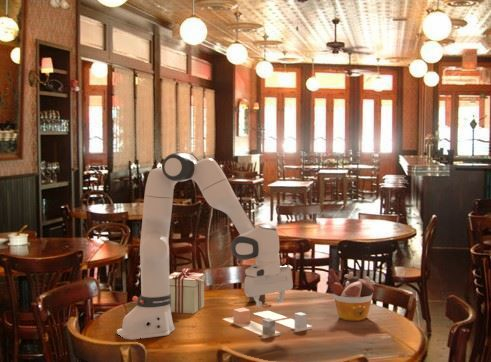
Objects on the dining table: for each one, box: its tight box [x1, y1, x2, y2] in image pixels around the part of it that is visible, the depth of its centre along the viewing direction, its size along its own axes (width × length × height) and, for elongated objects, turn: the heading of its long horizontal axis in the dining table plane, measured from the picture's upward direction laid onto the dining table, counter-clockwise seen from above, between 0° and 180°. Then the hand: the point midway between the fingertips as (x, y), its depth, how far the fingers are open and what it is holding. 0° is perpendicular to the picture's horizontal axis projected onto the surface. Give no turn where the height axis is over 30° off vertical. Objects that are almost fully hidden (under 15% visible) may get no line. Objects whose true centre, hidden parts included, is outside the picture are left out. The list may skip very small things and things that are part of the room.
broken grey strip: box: [253, 310, 313, 333], centre depth 271 cm, size 8×30×6 cm, turn 33°
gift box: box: [169, 268, 206, 314], centre depth 297 cm, size 17×18×17 cm
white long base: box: [222, 316, 282, 339], centre depth 263 cm, size 8×30×6 cm, turn 33°
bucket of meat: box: [327, 268, 376, 322], centre depth 277 cm, size 20×16×20 cm
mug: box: [248, 294, 266, 304], centre depth 308 cm, size 12×8×9 cm, turn 66°
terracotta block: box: [232, 307, 252, 324], centre depth 268 cm, size 5×5×5 cm
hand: (269, 304), depth 252 cm, fingers open, 8 cm apart
